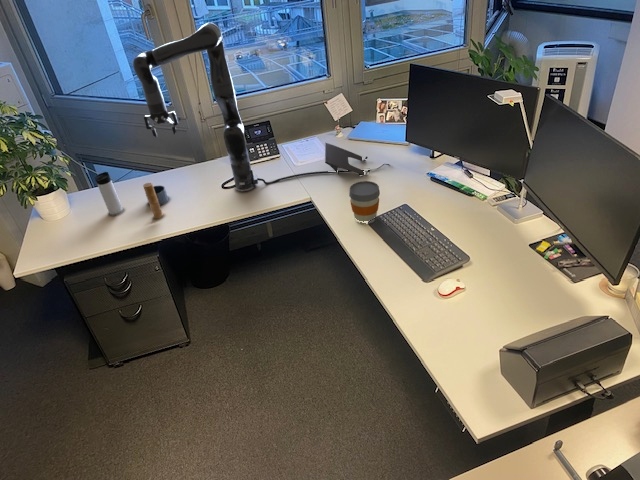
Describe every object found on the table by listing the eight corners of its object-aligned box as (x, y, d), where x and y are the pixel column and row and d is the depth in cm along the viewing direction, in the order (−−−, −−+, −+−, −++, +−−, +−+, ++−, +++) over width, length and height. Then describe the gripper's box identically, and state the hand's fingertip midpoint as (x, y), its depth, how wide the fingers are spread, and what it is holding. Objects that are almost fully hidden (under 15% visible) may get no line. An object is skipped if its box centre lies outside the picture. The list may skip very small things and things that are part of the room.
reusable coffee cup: (360, 230, 191) (359, 199, 182) (345, 216, 200) (343, 186, 192) (386, 220, 195) (385, 189, 186) (369, 207, 205) (368, 177, 196)
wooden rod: (162, 213, 217) (152, 181, 207) (163, 218, 214) (152, 185, 204) (154, 216, 216) (142, 183, 206) (154, 220, 213) (143, 187, 203)
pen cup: (167, 195, 231) (164, 183, 228) (169, 203, 224) (165, 192, 220) (149, 199, 229) (145, 188, 226) (149, 208, 222) (145, 196, 218)
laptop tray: (362, 189, 230) (370, 174, 225) (319, 174, 225) (326, 158, 220) (360, 168, 249) (367, 153, 244) (320, 154, 244) (326, 138, 239)
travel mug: (126, 209, 224) (112, 172, 212) (117, 216, 219) (102, 178, 207) (116, 207, 226) (101, 171, 214) (107, 215, 221) (91, 177, 209)
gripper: (172, 96, 210) (181, 130, 220) (140, 100, 209) (151, 134, 218) (170, 101, 204) (180, 135, 214) (137, 106, 203) (149, 140, 212)
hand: (165, 135), depth 216 cm, fingers open, 8 cm apart
